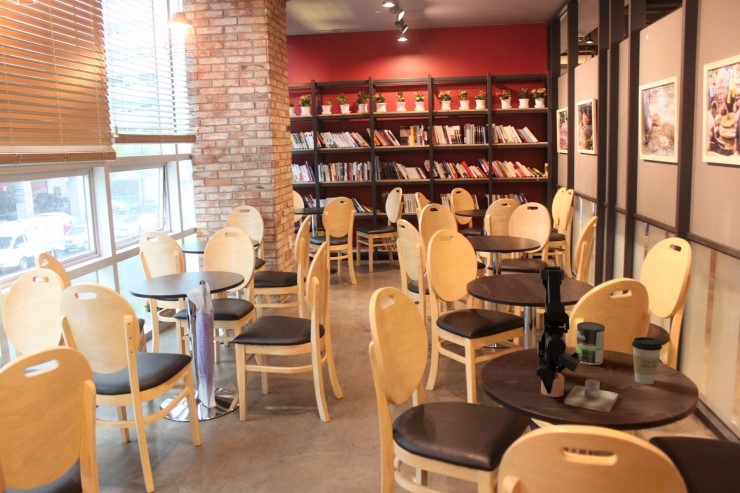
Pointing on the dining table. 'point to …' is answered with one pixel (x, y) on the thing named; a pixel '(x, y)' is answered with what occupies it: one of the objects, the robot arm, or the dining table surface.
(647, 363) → the coffee cup
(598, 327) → the coffee can
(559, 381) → the collar sleeve
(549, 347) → the robot arm
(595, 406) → the duct mount
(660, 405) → the dining table surface
